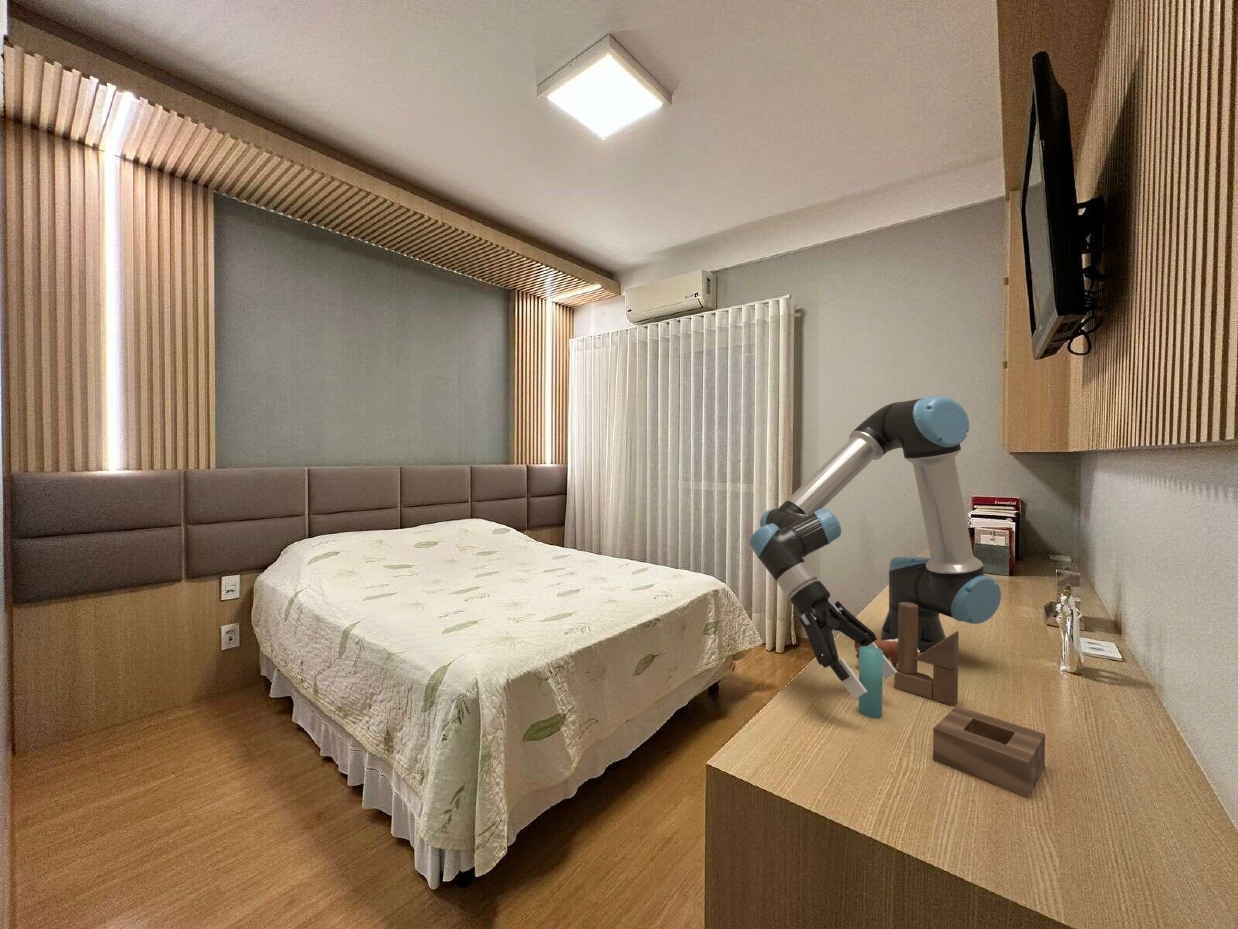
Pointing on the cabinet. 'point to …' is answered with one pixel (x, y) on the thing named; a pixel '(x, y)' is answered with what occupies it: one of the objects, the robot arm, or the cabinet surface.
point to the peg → (871, 681)
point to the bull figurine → (885, 650)
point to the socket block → (990, 749)
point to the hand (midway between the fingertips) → (877, 685)
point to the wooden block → (938, 655)
